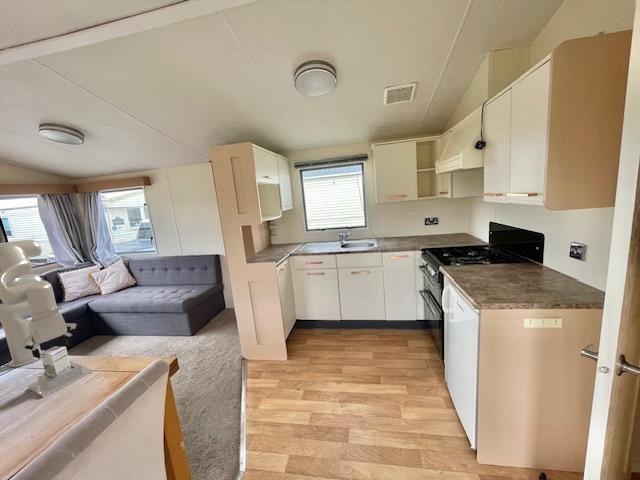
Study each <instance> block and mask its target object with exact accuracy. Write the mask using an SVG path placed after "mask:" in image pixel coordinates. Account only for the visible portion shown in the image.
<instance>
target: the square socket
mask: <svg viewBox="0 0 640 480" xmlns="http://www.w3.org/2000/svg"><path fill="white" fill-rule="evenodd" d="M69 362H70V366H71V369H70V370H68V371H66V372H64V373H62V374H60V375H58V376H56V377H53V378H49V377H48V376H46V373H45V371H44V372H42V373H40V374H38V375H36V378H37V381H36V382H34V383H31V384H29V385H28V386H27V388H28V389H29V390H30V391H32V392H33V393H35V394H36V395H38V396H40V397H41V398H45V397H47V396H49V395H51V394H53V393H55V392H57V391H59V390H61V389H63V388H65V387H66V386H68V385H70V384H73V383H75V382H77V381H79V379H82V378H84V377H86V376H89V374H92V373H93V369H92V368H89V367H87V366H85V365H82V364H81V363H80V364H79V363H76V362H73V361H71V360H69Z"/></svg>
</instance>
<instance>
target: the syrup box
mask: <svg viewBox="0 0 640 480" xmlns="http://www.w3.org/2000/svg"><path fill="white" fill-rule="evenodd" d="M44 351H45V352H43V353H41V354H40V355H41V358H40V359H41V361H42V365H43V369H44V372H45V373H46V376H48V377H49V378H53V377H56V376H58V375H60V374H62V373H64V372H66V371H68V370H70V369H71V366H70V362H69V361H70V358H69V355H68V354H69V353H68V350H67V346H53V347H51V348H49V349H47V350H44Z"/></svg>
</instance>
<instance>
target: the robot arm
mask: <svg viewBox="0 0 640 480" xmlns="http://www.w3.org/2000/svg"><path fill="white" fill-rule="evenodd" d="M42 251H43V250H42V246H41V245H40V243H39V242H37V241H36V240H35V239H24V240H23V239H22V240H16V241H8V242H0V300H1V301H2V303H0V324H1V326H2V329H3V331H4V335H5V338H6V343H7V346H8V349H9V352H10V353H9V354H10V357H11V359H12V360H11V361H9V362H8V364H7V365H8V367H9V368H17V367H22V366H26V365H29V364H32V363H34V362H36V361H39V360H40V359H42V358H41V355H40V354H41V353H43V352H45V351H46V350H43V349H42V350H41V346H40V345H41V344H43V343H45V342H49V341H51V340H54V339H57V338H59V337H61V336H64V338H63V339H64V343H65V345H66V346H69V347H70V346H72V343H73V339H72V337H71V336H73V334H74V332H75V330H76V327H77V323H72V322H71V323H68V322H67V323H66V322H65V319H64V317H63V315H62V313H61V312H60V310H63V307H62V305H60V306H57V302H56V298H55V293H54V290H53V289H54V288H53V286H52V283H50V282H49V281H48V280H43V278H42V277H41V276H40V275H39V274H37V273H30V271H31V270H32V269H33V264H32V262H31V260H30V259H31V258H35V257H39V256H41V254H42ZM29 273H30V274H29ZM29 316H30V317H31V319H30V320H29V319H26V317H29ZM68 327H70V329H69V330H68ZM12 361H13V362H12ZM10 362H11V363H10Z"/></svg>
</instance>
